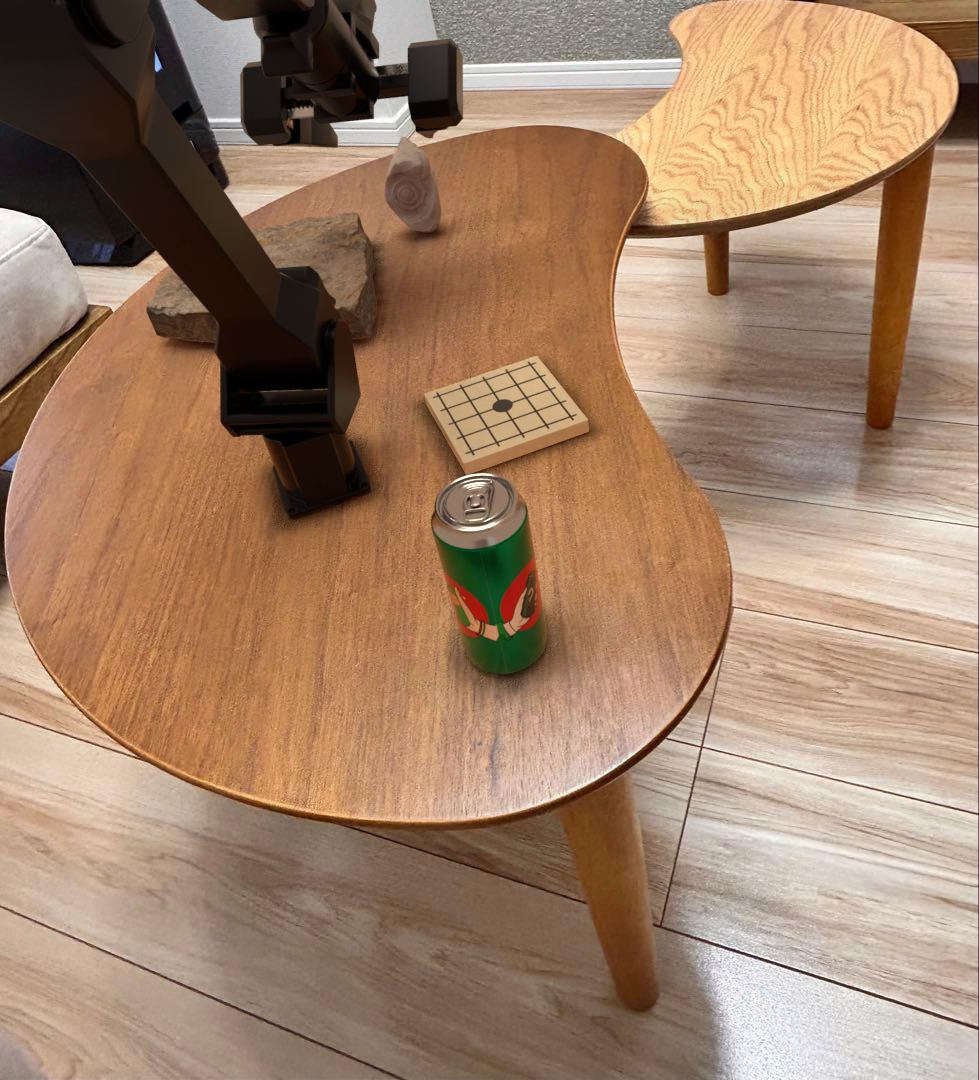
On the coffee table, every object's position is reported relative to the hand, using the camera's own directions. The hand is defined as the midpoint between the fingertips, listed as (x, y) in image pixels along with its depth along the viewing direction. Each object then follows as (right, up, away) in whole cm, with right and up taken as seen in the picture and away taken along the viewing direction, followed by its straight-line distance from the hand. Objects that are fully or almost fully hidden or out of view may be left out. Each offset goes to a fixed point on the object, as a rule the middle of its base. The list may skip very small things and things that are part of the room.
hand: (383, 137), depth 80 cm
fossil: (+3, -4, +13) cm, 14 cm away
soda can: (+11, -44, -28) cm, 53 cm away
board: (+11, -28, -12) cm, 32 cm away
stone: (-10, -13, +7) cm, 18 cm away
